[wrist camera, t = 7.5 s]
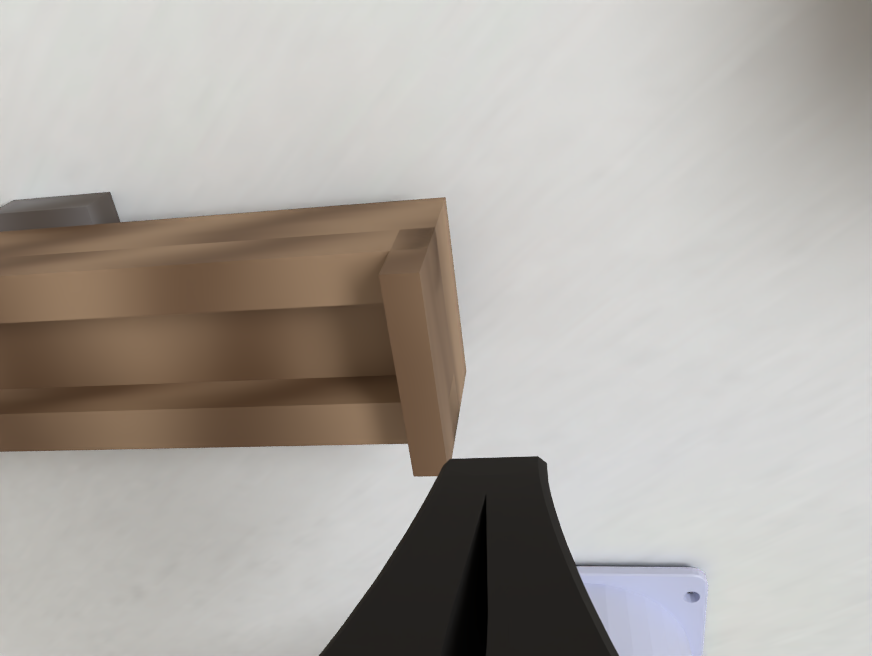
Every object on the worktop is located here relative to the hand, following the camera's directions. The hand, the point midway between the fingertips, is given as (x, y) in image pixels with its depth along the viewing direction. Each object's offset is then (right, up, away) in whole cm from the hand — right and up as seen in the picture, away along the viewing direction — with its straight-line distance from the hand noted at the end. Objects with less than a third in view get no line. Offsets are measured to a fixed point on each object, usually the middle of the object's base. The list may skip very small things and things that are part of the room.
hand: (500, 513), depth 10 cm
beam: (-11, +4, +12) cm, 16 cm away
